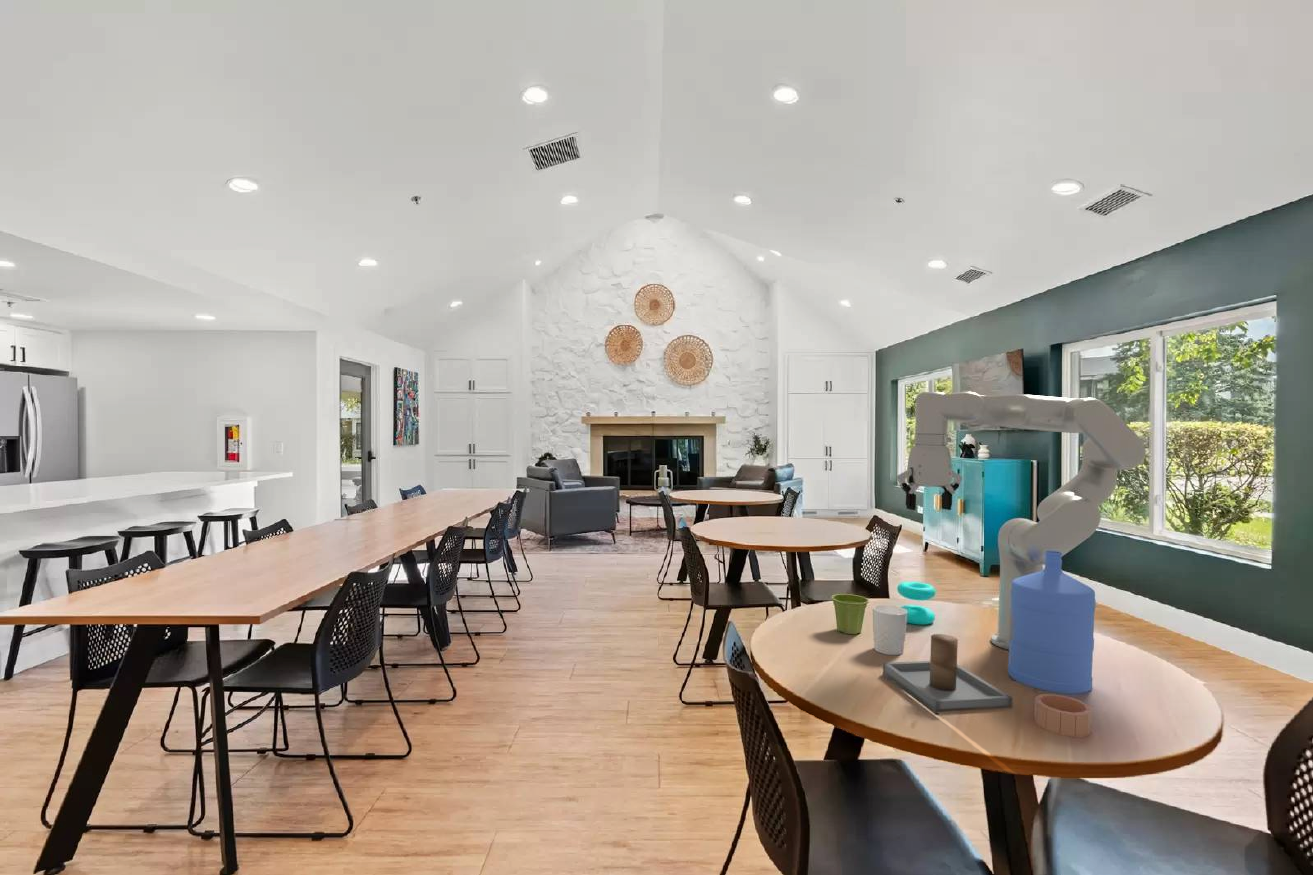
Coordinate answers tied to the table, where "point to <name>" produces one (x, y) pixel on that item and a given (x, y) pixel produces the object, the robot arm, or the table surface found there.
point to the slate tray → (965, 697)
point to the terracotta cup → (1063, 715)
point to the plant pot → (849, 612)
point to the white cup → (889, 629)
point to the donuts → (917, 592)
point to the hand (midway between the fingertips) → (928, 509)
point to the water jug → (1052, 630)
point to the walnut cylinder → (943, 662)
